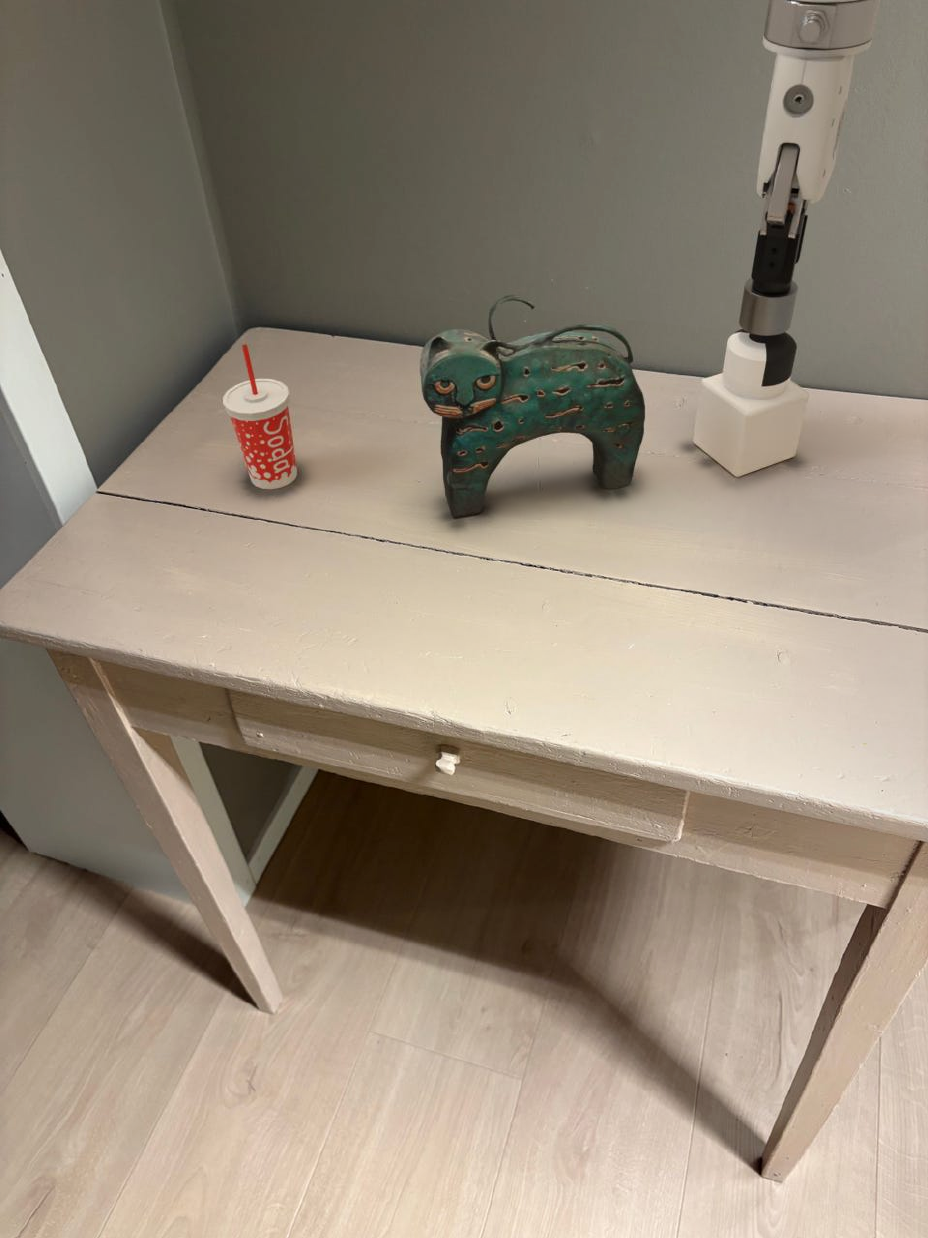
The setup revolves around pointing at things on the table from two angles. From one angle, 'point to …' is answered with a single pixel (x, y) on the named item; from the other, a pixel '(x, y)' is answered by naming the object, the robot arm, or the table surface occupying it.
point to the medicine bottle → (751, 404)
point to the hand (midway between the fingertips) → (775, 268)
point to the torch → (769, 301)
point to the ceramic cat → (529, 402)
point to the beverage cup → (263, 428)
